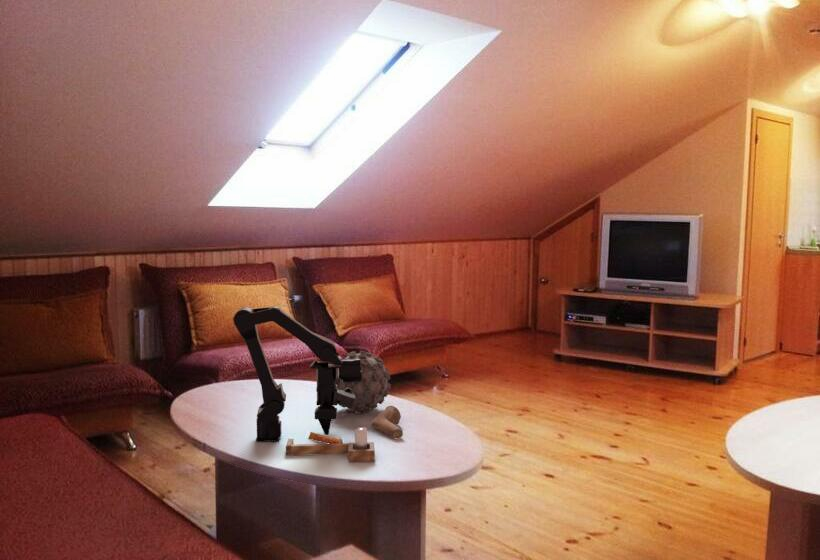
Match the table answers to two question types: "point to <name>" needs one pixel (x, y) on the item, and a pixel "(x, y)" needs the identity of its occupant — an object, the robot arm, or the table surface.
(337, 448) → the dock
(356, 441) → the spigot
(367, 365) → the ornament
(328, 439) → the chocolate bar
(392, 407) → the pipe
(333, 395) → the robot arm
